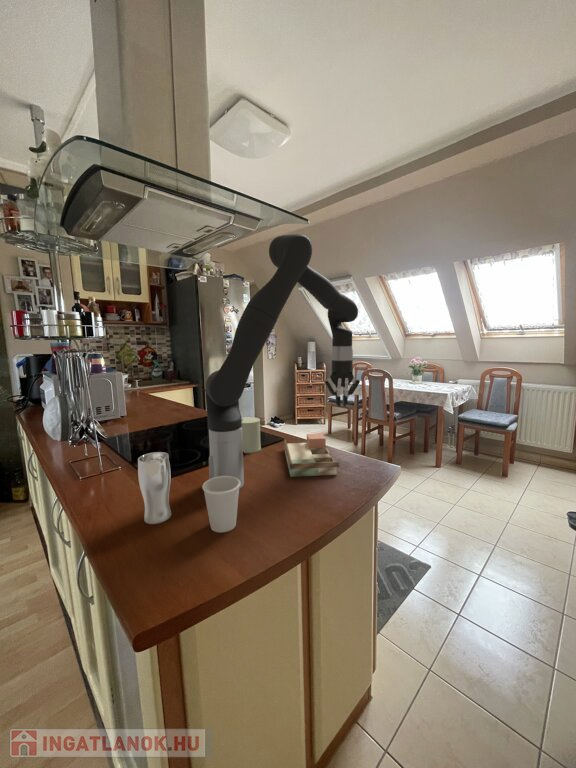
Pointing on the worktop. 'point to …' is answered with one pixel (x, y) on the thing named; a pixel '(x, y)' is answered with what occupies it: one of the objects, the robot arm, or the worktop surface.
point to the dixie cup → (222, 502)
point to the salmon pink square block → (316, 441)
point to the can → (251, 434)
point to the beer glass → (155, 486)
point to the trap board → (309, 460)
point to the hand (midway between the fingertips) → (341, 406)
